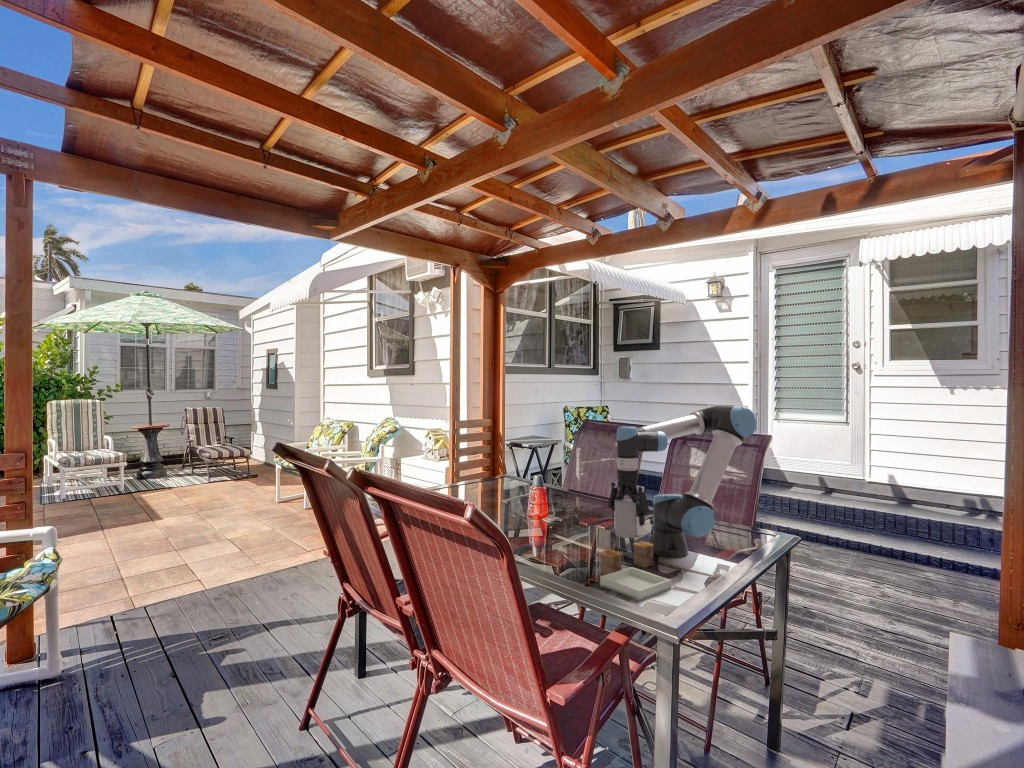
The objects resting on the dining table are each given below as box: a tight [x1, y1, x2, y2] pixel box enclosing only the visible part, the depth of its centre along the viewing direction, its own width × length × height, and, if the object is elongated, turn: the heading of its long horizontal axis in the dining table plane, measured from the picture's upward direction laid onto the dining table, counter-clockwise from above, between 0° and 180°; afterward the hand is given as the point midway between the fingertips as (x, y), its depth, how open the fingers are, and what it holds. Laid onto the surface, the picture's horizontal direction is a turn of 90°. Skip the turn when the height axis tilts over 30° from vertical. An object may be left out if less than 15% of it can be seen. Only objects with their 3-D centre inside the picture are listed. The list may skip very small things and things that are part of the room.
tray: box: [599, 566, 672, 602], centre depth 162 cm, size 16×16×3 cm
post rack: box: [599, 540, 654, 576], centre depth 180 cm, size 23×5×8 cm, turn 127°
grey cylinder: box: [614, 497, 643, 539], centre depth 181 cm, size 10×10×12 cm
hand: (628, 531), depth 181 cm, fingers closed on grey cylinder, 9 cm apart
